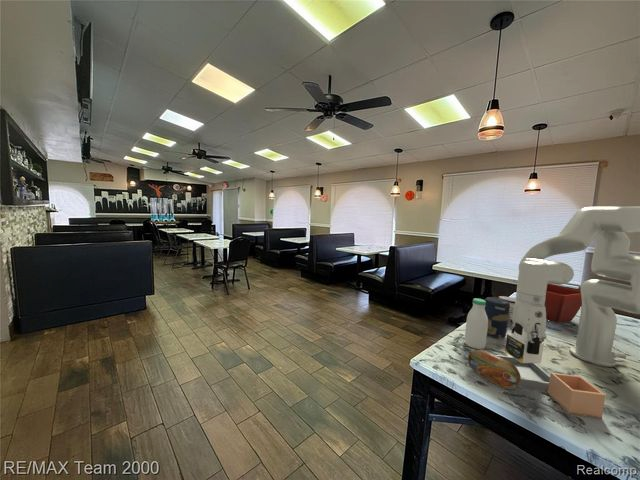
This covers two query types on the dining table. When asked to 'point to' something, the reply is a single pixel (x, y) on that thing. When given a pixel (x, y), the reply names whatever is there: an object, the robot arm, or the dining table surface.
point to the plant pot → (561, 303)
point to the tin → (494, 369)
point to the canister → (497, 316)
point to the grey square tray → (530, 374)
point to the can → (512, 302)
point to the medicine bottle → (521, 346)
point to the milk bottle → (477, 325)
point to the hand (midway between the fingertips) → (523, 346)
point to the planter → (576, 395)
